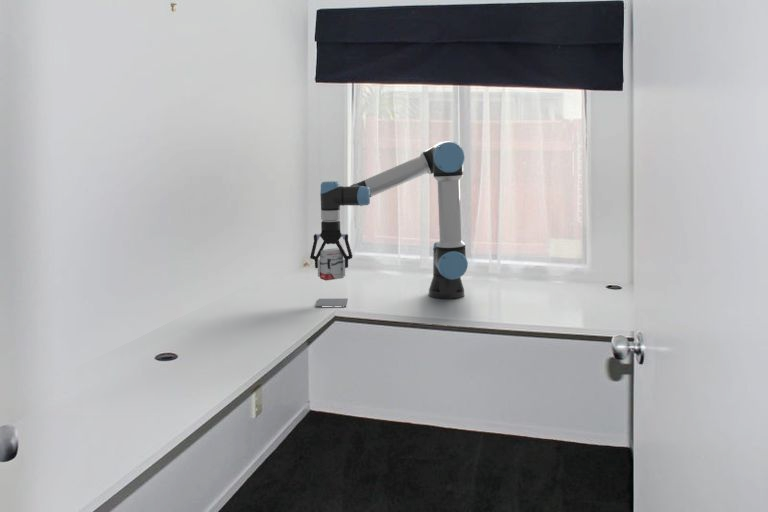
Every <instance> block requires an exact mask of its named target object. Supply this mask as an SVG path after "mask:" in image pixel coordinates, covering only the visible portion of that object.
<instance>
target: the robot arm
mask: <svg viewBox="0 0 768 512" xmlns="http://www.w3.org/2000/svg"><path fill="white" fill-rule="evenodd" d="M464 162H465V152H464V150H463V148H462V147H461V146H460V144H459V143H457V142H455V141H452V140H445V141H441V142H439V143H436V144H435V145H434V146H431V147H430V148H428V149H426V150H424V151H422V152H421V153H420V155H419V156H417V157H415V158H413V159H409V160H407V161H405V162H403V163H401V164H398V165H396V166H394V167H392V168H389V169H386V170H384V171H383V172H379V173H378V174H375V175H372V176H371V177H368V178H366V179H364V180H361V181H359V182H356V183H353V184H351V185H349V186H342V185H340V182H339V181H336V180H333V181H332V180H328V181H322V182H321V183H320V193H319V194H320V220H321V223H320V224H321V232H320V233H318V234H317V233H315V234H314V235H313V245H312V246H311V247H312V248H311V253H310V257H309V258H310V260H314V268H315V269H317V277H318V278H320V254H321V250H323V249H325V246H326V244H327V245H330V244H331V245H336V247H337V248H338V249H339V250H340V252H341V253H342V255H343V277H344V278H345V277H346V273H347V272H346V269H348V268H349V260H350V259H353V252H352V249H351V245H350V242H349V234H348V233H346V234H345V233H342V232H341V221H340V220H341V206H360V207H363V206H369V205H370V203H371V197H374V196H377V195H379V194H382V193H384V192H387V191H388V190H391V189H392V188H396V187H398V186H400V185H403V184H405V183H407V182H410V181H412V180H414V179H416V178H419V177H422V176H423V175H426V174H429V175H432V174H433V178H434V179H435V180H436V181H437V198H438V199H437V202H438V203H437V204H438V205H437V206H438V226H439V241H435V242H434V243H433V247H432V250H433V256H432V258H433V260H432V261H433V262H432V265H433V267H432V268H433V269H432V270H433V271H432V273H433V274H432V276H433V277H432V279H431V282H430V285H429V288H428V295H429V297H432V298H437V299H446V300H449V299H458V298H462V297H464V296H465V289H464V285H463V282H462V279H461V277H463V276H464V275H465V273H466V272H467V270H468V262H469V261H468V259H467V255H466V243H465V242H464V241H463V240H462V220H461V218H462V217H461V188H460V187H461V186H460V185H461V184H460V182H461V181H460V180H461V179H462V178H463V177H464ZM320 238H321V240H323V242H322V244H321V245H320V247H319V249H318V252H317V253H316V248H317V244H318V241H319V239H320ZM341 238H342V240H343V241H344V243H345V247H346V251H347V253H348V254H346V251H345V249H344V247H343V246H342V244H341V242H340V239H341ZM315 253H316V255H315Z"/></svg>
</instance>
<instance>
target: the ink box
mask: <svg viewBox="0 0 768 512" xmlns="http://www.w3.org/2000/svg"><path fill="white" fill-rule="evenodd" d="M319 259H320V277H319V279H321V280H323V281H326V282H327V281H332V280H340V279H344V278H345V276H344V277H343V259H344V257H343V255H342V253H341V252H340V250H339V248H338V247H335V248H323V250H321V254H320V256H319Z"/></svg>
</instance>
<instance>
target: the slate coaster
mask: <svg viewBox="0 0 768 512" xmlns="http://www.w3.org/2000/svg"><path fill="white" fill-rule="evenodd" d="M348 300H349V298H318V300H317V303H316V305H315V308H323V307H322V306H344V307H343V308H347V306H346V305H348Z"/></svg>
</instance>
